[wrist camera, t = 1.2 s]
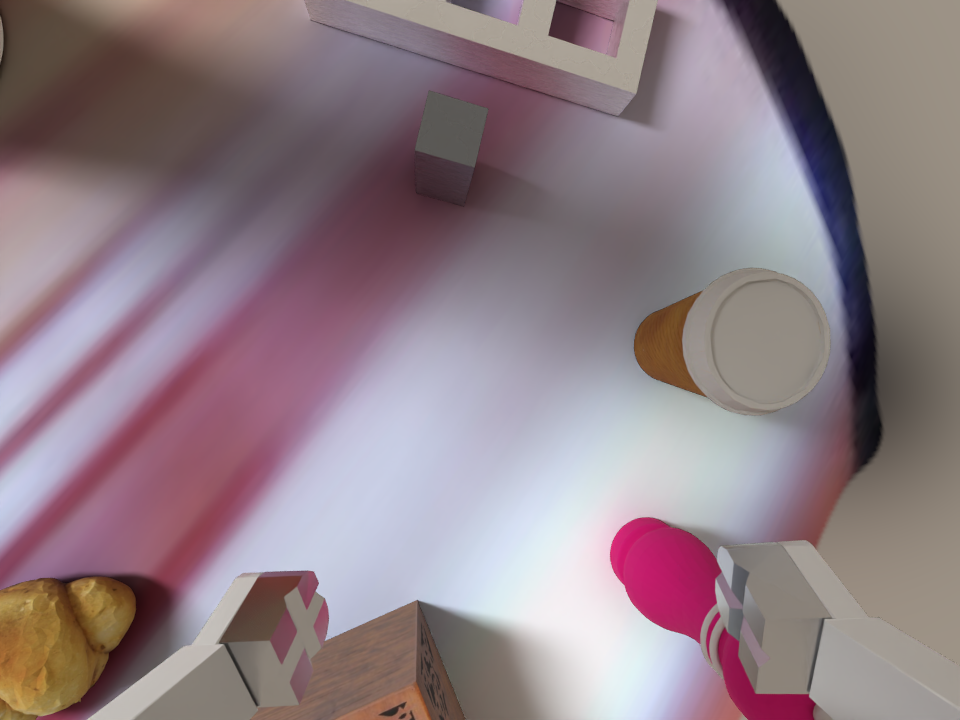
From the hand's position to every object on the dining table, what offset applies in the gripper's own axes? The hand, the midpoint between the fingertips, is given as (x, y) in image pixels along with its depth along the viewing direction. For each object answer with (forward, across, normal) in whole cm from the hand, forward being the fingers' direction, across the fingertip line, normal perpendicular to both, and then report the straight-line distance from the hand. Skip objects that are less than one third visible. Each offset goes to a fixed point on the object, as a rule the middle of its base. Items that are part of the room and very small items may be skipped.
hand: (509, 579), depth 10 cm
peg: (+34, +5, -7) cm, 35 cm away
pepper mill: (+25, -9, +25) cm, 37 cm away
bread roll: (+16, +36, +20) cm, 44 cm away
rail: (+40, 0, -19) cm, 44 cm away
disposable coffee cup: (+32, -13, +9) cm, 36 cm away
